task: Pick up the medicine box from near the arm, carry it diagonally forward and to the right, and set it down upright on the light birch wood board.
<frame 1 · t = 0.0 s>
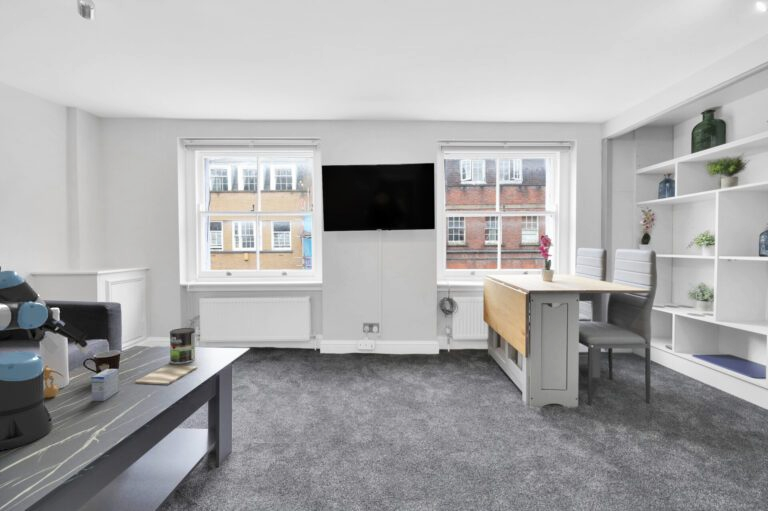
hand: (71, 350, 132), 15 cm above the table, tool tilted 35°, fingers open, 13 cm apart
bottle: (55, 387, 136), on the table
medicine box: (106, 396, 129), on the table
coffee can: (183, 360, 167), on the table
coffee mug: (104, 378, 145), on the table
figurine: (49, 398, 127), on the table
birch board: (167, 375, 149), on the table
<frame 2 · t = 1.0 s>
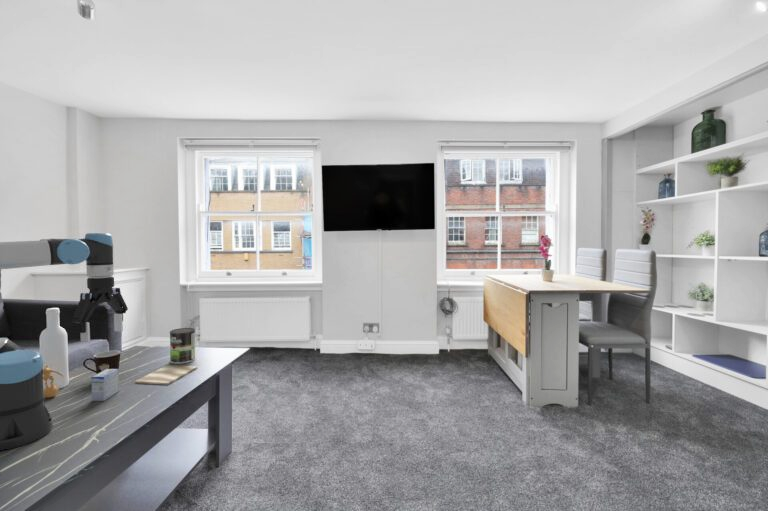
hand: (102, 336, 128), 22 cm above the table, tool pointing down, fingers open, 13 cm apart
nothing on the table moved.
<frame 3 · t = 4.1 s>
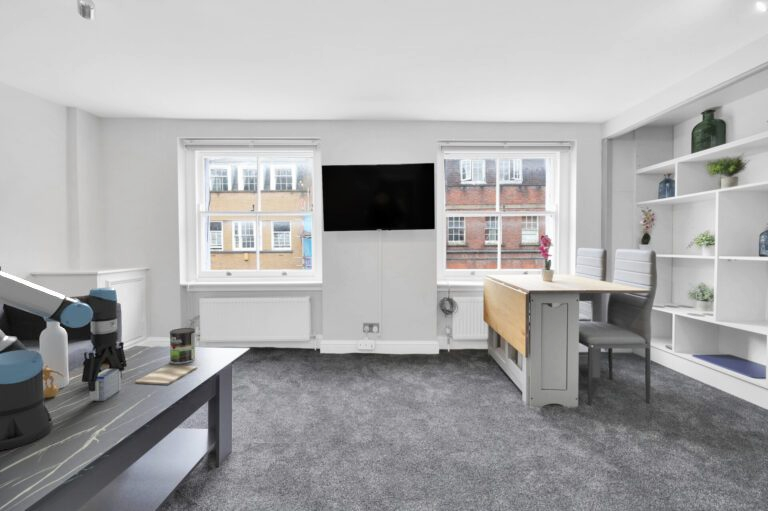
hand: (106, 393, 129), 1 cm above the table, tool pointing down, fingers closed on medicine box, 8 cm apart
medicine box: (106, 396, 129), on the table, touching gripper
everything else where it was.
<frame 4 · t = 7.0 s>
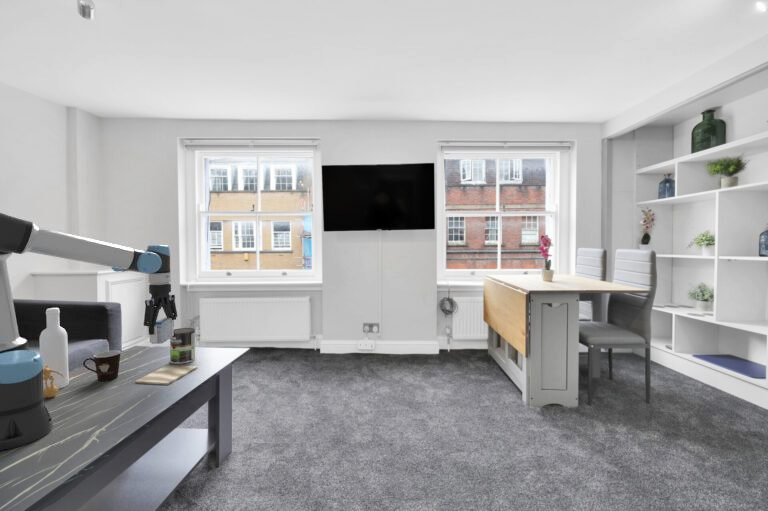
hand: (162, 338, 145), 16 cm above the table, tool pointing down, fingers closed on medicine box, 8 cm apart
medicine box: (162, 341, 145), point 15 cm above the table, touching gripper
everything else where it was.
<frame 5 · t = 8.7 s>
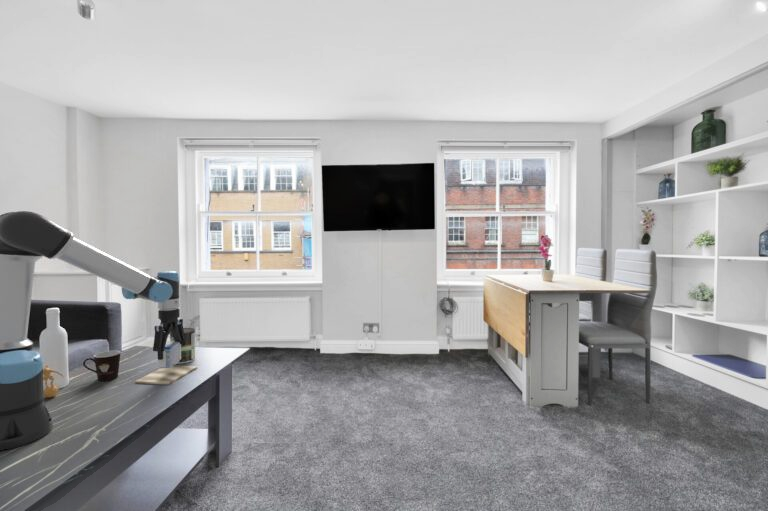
hand: (170, 362, 149), 5 cm above the table, tool pointing down, fingers closed on medicine box, 8 cm apart
medicine box: (170, 365, 149), point 4 cm above the table, touching gripper
everything else where it was.
when the fingers open (3 cm above the table, at t = 10.0 s): medicine box drops 1 cm, resting on birch board.
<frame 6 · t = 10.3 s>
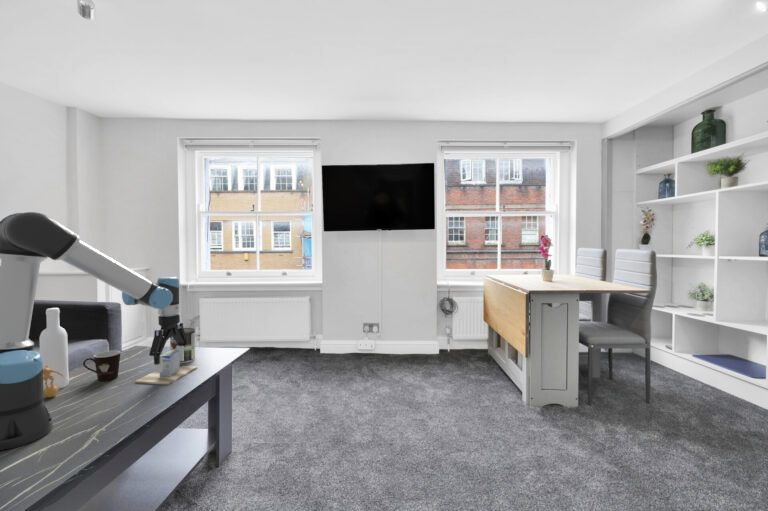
hand: (170, 366, 148), 4 cm above the table, tool pointing down, fingers open, 12 cm apart
medicine box: (170, 374, 149), point 1 cm above the table, touching birch board
everything else where it was.
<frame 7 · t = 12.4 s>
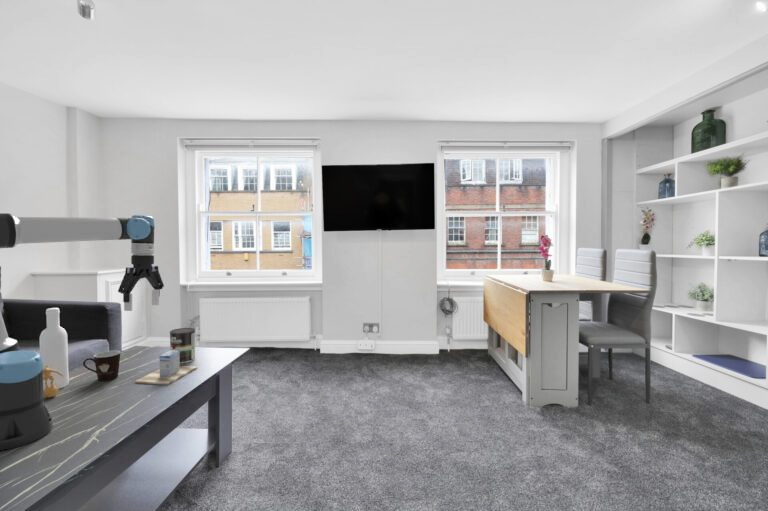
hand: (142, 307, 143), 29 cm above the table, tool pointing down, fingers open, 13 cm apart
nothing on the table moved.
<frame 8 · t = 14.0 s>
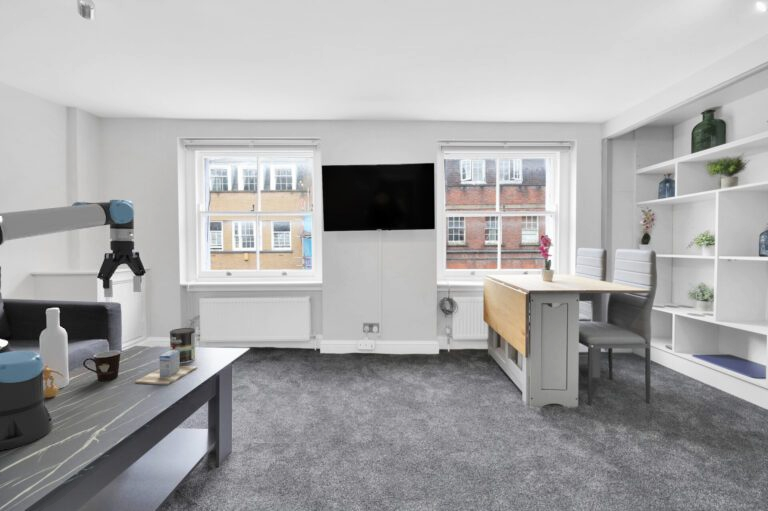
hand: (123, 294, 141), 35 cm above the table, tool pointing down, fingers open, 13 cm apart
nothing on the table moved.
at the end: medicine box inside the target area on the birch board (1.0 cm from its centre), point 0.6 cm above the birch board's base; medicine box tilted 0°; the gripper is holding nothing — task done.
